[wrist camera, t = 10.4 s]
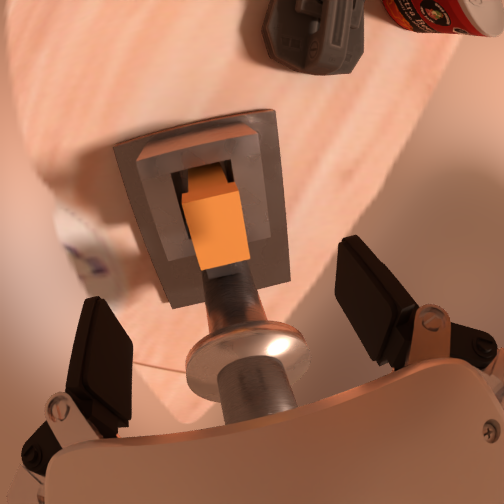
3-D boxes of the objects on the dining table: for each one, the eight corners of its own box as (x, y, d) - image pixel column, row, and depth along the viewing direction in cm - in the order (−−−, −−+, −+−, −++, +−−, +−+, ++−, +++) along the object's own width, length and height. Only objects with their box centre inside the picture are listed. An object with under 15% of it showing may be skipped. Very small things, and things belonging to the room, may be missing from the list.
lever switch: (116, 144, 22) (-22, 334, 5) (271, 109, 23) (476, 216, 6) (172, 302, 33) (186, 485, 16) (287, 274, 34) (365, 440, 17)
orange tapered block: (183, 154, 23) (181, 203, 14) (218, 146, 23) (238, 190, 15) (194, 200, 25) (201, 270, 17) (226, 193, 26) (250, 258, 17)
